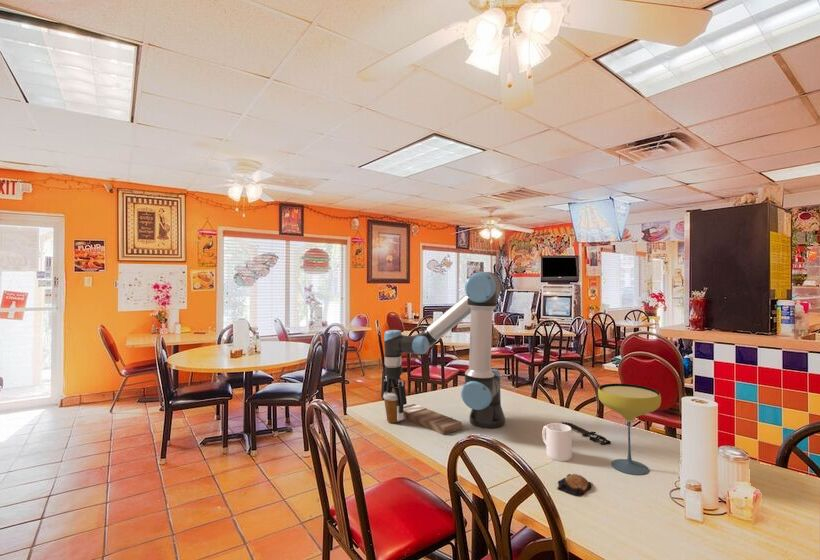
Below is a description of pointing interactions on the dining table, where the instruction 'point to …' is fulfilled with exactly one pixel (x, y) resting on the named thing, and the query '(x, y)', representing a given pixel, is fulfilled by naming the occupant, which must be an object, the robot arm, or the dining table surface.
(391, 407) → the disposable coffee cup
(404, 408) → the walnut board
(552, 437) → the cup
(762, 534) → the dining table surface
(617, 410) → the cocktail glass
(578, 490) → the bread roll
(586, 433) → the knife
